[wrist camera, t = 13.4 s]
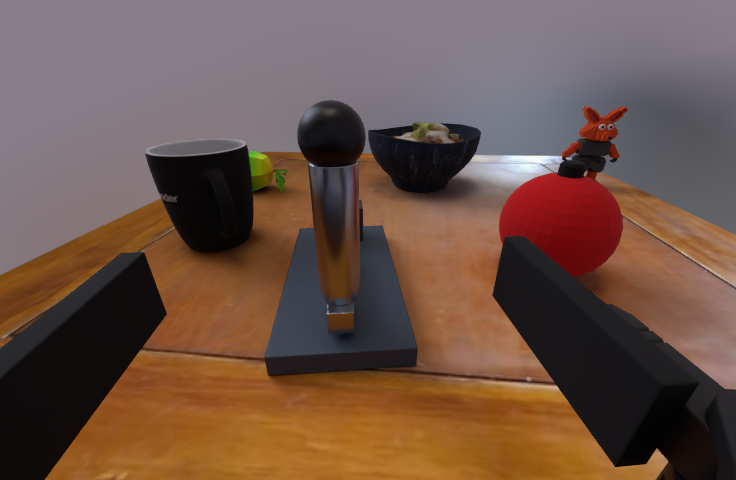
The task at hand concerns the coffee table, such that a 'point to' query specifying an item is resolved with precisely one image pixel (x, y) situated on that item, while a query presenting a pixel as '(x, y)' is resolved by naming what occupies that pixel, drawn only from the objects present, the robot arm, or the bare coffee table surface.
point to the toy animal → (596, 141)
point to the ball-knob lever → (335, 204)
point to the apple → (264, 172)
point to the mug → (205, 190)
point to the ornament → (565, 218)
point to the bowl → (424, 153)
